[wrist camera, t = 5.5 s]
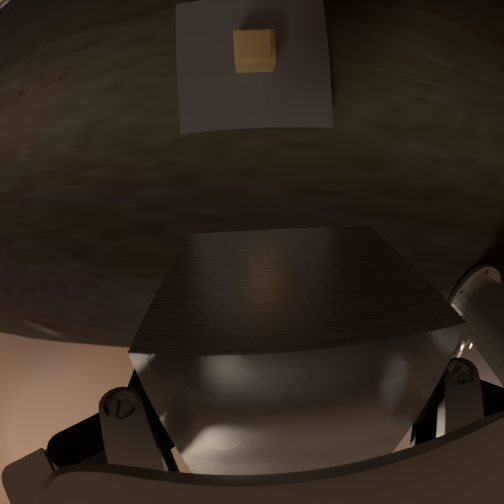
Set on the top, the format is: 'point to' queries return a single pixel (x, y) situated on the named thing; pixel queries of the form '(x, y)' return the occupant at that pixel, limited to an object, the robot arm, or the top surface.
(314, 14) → the grey block
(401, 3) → the top surface
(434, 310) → the grey cube
